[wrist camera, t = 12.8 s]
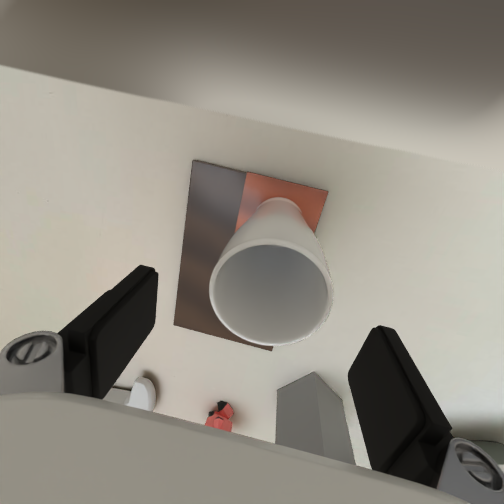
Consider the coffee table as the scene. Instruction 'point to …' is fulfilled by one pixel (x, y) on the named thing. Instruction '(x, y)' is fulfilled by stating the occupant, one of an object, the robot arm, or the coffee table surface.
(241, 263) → the drinking glass
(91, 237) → the coffee table surface
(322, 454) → the perfume bottle
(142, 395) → the game controller
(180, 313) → the corner board
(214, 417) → the cat figurine
